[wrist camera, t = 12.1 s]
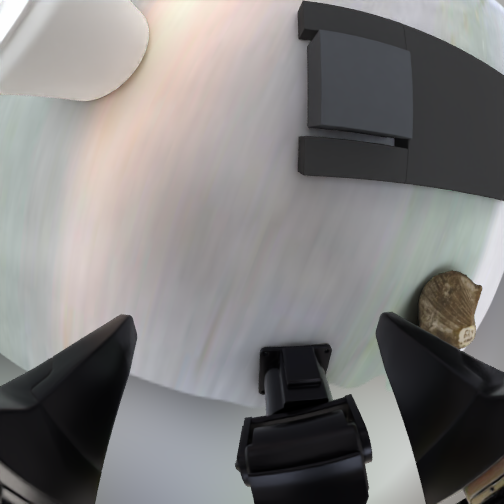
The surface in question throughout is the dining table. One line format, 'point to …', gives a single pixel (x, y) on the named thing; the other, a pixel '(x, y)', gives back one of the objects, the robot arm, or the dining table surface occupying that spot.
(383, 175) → the u-shaped holder
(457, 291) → the fossilized seashell
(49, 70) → the beverage can
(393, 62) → the pad
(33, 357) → the dining table surface
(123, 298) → the dining table surface
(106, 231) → the dining table surface
